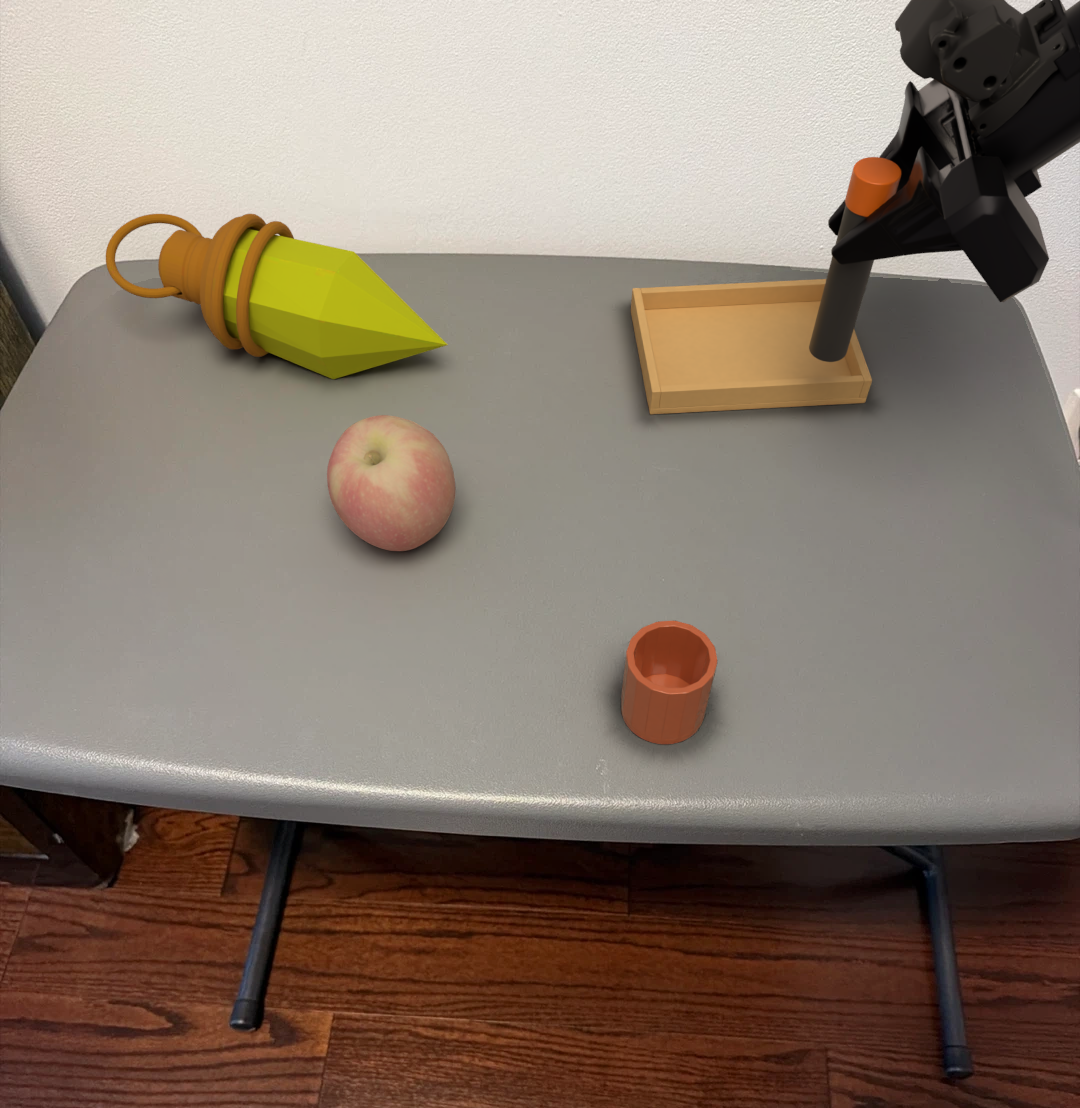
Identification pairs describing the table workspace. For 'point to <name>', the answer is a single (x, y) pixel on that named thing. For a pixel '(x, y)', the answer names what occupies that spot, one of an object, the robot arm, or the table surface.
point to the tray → (739, 348)
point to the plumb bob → (283, 295)
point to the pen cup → (667, 681)
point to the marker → (849, 281)
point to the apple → (391, 482)
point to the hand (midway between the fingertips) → (833, 243)
